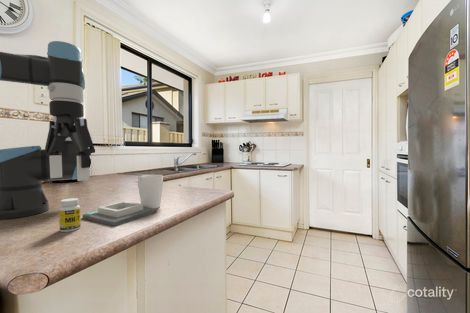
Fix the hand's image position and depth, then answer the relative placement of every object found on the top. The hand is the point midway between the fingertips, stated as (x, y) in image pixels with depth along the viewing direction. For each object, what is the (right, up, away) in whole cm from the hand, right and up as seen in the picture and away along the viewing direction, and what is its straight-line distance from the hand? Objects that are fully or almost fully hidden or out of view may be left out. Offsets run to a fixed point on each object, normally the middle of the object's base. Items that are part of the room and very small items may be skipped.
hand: (69, 179), depth 63 cm
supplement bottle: (0, -14, +1) cm, 14 cm away
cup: (+14, -13, +24) cm, 31 cm away
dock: (+8, -14, +14) cm, 21 cm away
